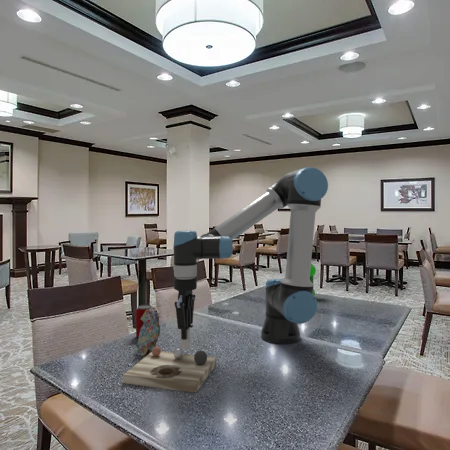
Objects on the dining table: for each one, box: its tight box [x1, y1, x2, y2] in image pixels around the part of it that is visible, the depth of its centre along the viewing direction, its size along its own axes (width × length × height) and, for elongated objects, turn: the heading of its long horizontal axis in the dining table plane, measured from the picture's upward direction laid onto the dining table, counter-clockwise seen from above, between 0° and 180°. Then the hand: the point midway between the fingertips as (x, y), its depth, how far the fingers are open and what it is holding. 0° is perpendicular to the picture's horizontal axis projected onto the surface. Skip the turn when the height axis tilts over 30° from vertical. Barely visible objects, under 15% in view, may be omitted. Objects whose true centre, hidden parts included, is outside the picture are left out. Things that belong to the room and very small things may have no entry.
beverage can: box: [135, 304, 153, 338], centre depth 142 cm, size 7×7×12 cm
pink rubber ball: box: [152, 345, 162, 356], centre depth 116 cm, size 3×3×3 cm
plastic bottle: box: [310, 263, 316, 296], centre depth 206 cm, size 10×10×25 cm
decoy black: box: [193, 350, 208, 365], centre depth 109 cm, size 4×4×4 cm
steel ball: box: [173, 347, 185, 359], centre depth 113 cm, size 3×3×3 cm
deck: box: [122, 350, 217, 394], centre depth 108 cm, size 19×22×2 cm
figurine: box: [135, 306, 161, 357], centre depth 127 cm, size 9×9×15 cm
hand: (185, 347), depth 119 cm, fingers closed
